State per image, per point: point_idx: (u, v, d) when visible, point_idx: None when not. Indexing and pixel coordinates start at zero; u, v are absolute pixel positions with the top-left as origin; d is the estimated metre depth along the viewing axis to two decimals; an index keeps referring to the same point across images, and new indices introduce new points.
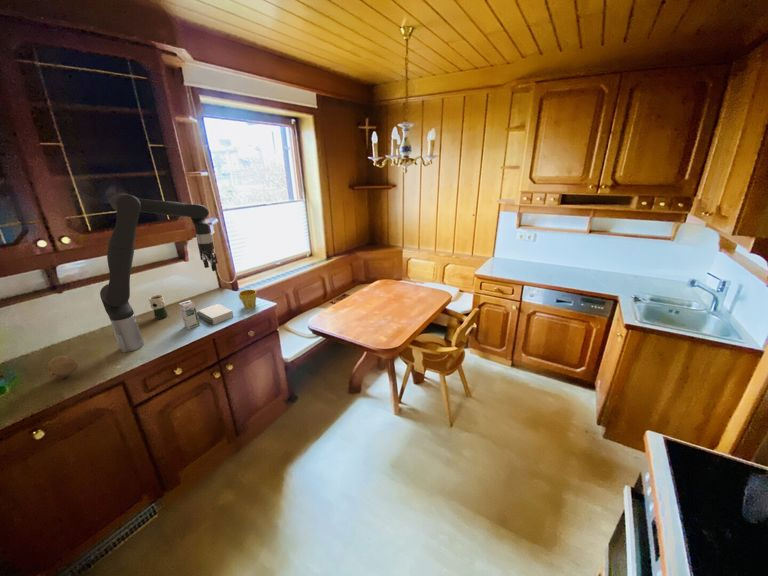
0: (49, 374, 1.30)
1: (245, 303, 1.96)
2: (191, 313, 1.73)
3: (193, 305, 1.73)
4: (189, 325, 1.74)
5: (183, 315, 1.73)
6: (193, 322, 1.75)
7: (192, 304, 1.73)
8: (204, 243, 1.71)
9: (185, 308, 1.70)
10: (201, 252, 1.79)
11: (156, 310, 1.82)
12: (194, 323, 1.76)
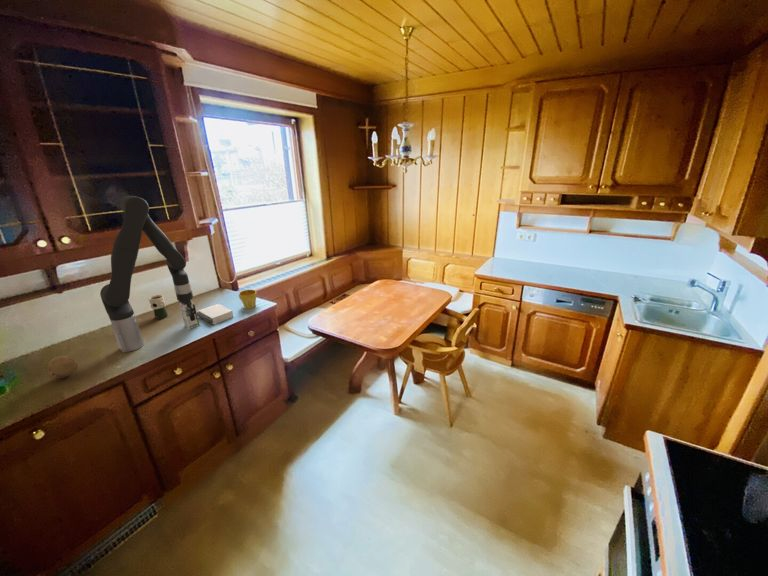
0: (49, 374, 1.30)
1: (245, 303, 1.96)
2: None
3: None
4: (189, 325, 1.74)
5: (183, 315, 1.73)
6: (193, 322, 1.75)
7: (192, 304, 1.73)
8: (182, 294, 1.67)
9: (185, 308, 1.70)
10: (181, 301, 1.75)
11: (156, 310, 1.82)
12: (194, 323, 1.76)
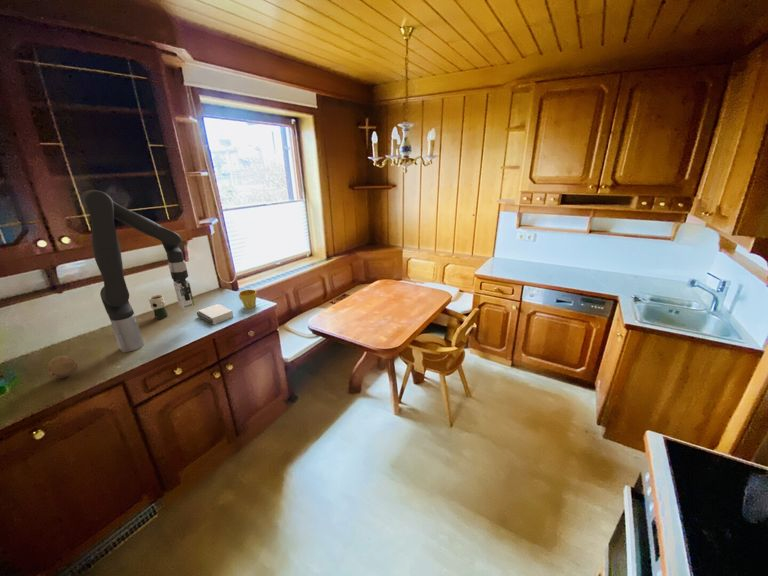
0: (49, 374, 1.30)
1: (245, 303, 1.96)
2: None
3: None
4: (184, 305, 1.69)
5: (177, 294, 1.68)
6: (188, 302, 1.70)
7: None
8: (177, 272, 1.62)
9: (179, 286, 1.65)
10: (175, 281, 1.70)
11: (156, 310, 1.82)
12: (189, 304, 1.71)
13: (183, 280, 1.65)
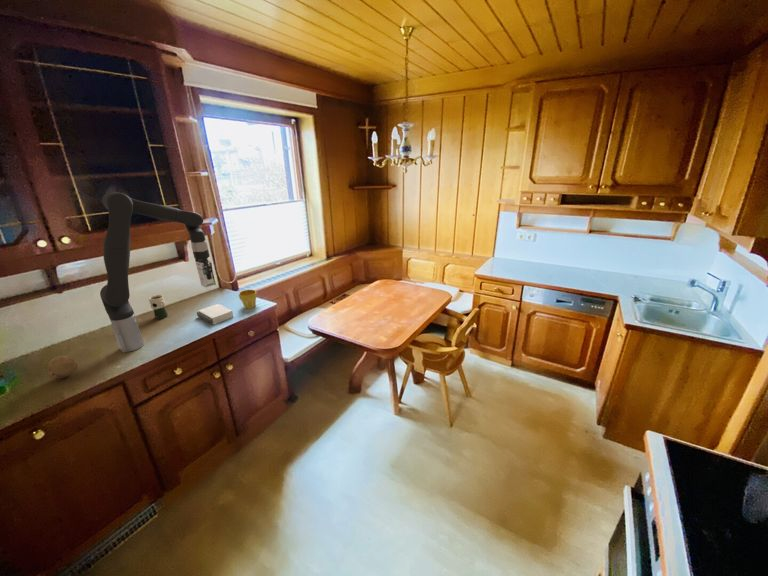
0: (49, 374, 1.30)
1: (245, 303, 1.96)
2: None
3: None
4: (206, 284, 1.76)
5: (200, 274, 1.75)
6: (210, 280, 1.77)
7: None
8: (199, 251, 1.68)
9: (202, 266, 1.72)
10: (197, 261, 1.77)
11: (156, 310, 1.82)
12: (211, 282, 1.78)
13: (205, 259, 1.71)
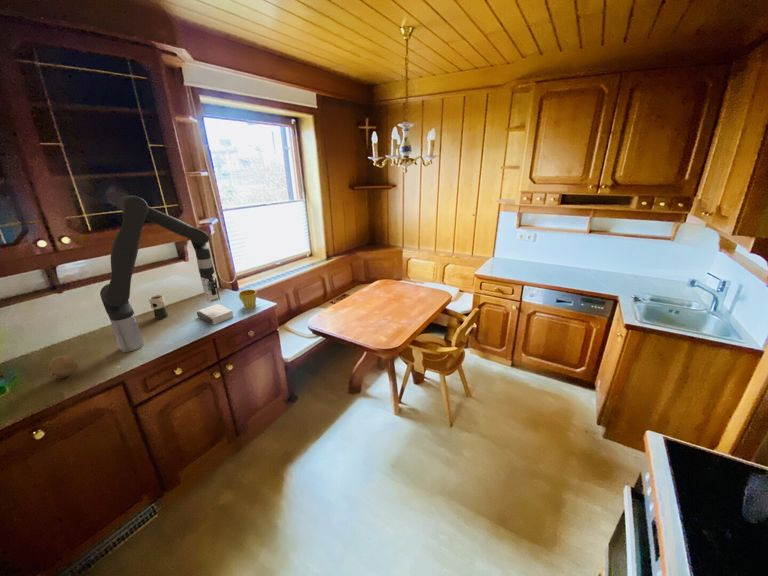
0: (49, 374, 1.30)
1: (245, 303, 1.96)
2: None
3: None
4: (210, 299, 1.80)
5: (205, 289, 1.79)
6: (215, 296, 1.81)
7: None
8: (205, 268, 1.73)
9: (207, 282, 1.76)
10: (202, 276, 1.81)
11: (156, 310, 1.82)
12: (215, 298, 1.82)
13: (210, 276, 1.76)
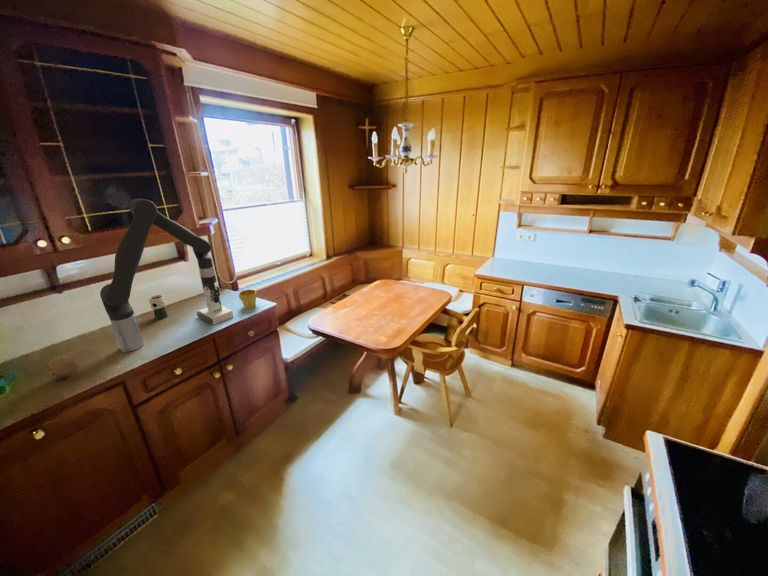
0: (49, 374, 1.30)
1: (245, 303, 1.96)
2: None
3: None
4: (213, 310, 1.83)
5: (207, 300, 1.82)
6: (217, 306, 1.84)
7: None
8: (207, 277, 1.75)
9: (209, 293, 1.79)
10: (204, 284, 1.83)
11: (156, 310, 1.82)
12: (217, 308, 1.85)
13: (212, 284, 1.78)
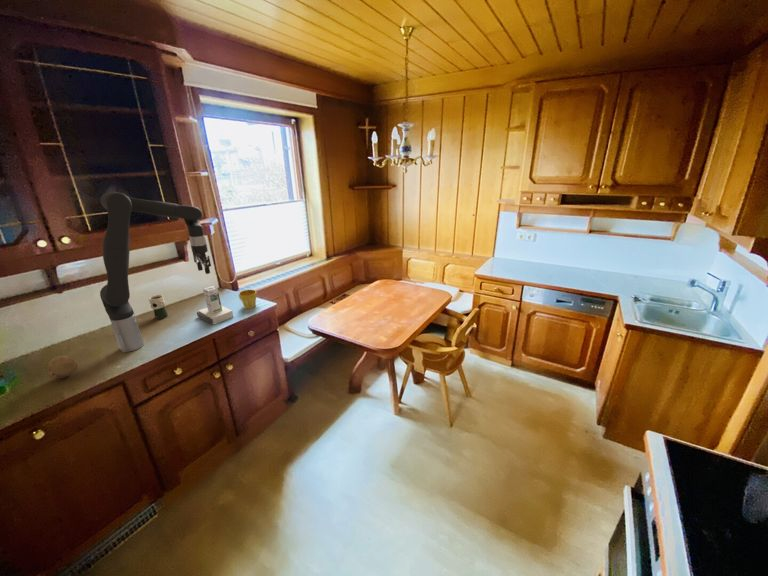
0: (49, 374, 1.30)
1: (245, 303, 1.96)
2: (215, 298, 1.82)
3: (217, 290, 1.82)
4: (213, 310, 1.83)
5: (207, 300, 1.82)
6: (217, 306, 1.84)
7: (216, 290, 1.82)
8: (197, 245, 1.68)
9: (209, 293, 1.79)
10: (195, 254, 1.76)
11: (156, 310, 1.82)
12: (217, 308, 1.85)
13: (203, 254, 1.71)
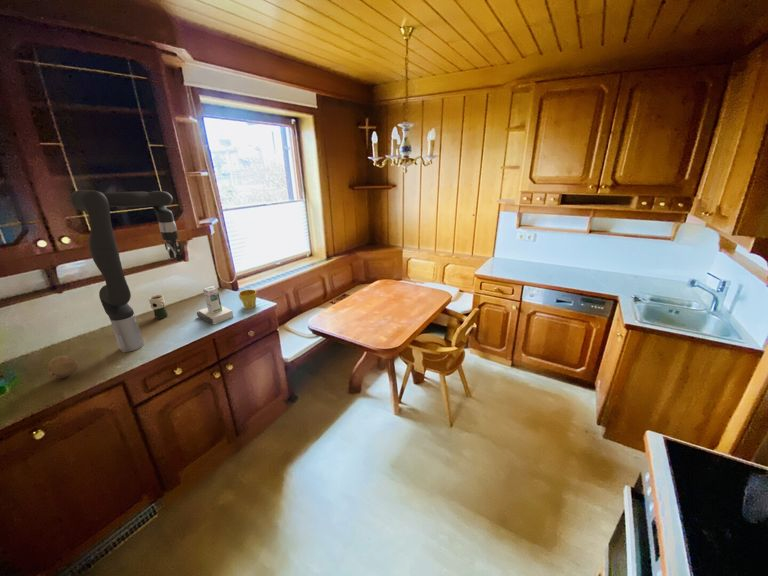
0: (49, 374, 1.30)
1: (245, 303, 1.96)
2: (215, 298, 1.82)
3: (217, 290, 1.82)
4: (213, 310, 1.83)
5: (207, 300, 1.82)
6: (217, 306, 1.84)
7: (216, 290, 1.82)
8: (167, 232, 1.64)
9: (209, 293, 1.79)
10: None
11: (156, 310, 1.82)
12: (217, 308, 1.85)
13: (173, 241, 1.67)
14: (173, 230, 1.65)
